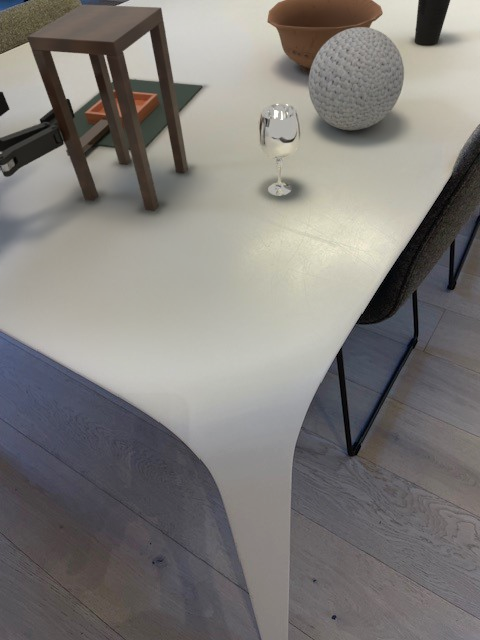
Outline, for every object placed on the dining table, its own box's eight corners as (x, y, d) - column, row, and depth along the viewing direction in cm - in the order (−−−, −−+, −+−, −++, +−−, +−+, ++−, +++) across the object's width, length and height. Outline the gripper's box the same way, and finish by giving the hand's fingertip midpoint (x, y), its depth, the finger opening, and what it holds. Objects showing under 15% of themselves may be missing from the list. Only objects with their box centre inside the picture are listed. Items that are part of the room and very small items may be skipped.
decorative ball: (410, 138, 81) (430, 39, 70) (322, 153, 80) (328, 54, 69) (375, 100, 91) (387, 8, 80) (297, 113, 90) (298, 21, 79)
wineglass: (289, 176, 76) (289, 98, 67) (305, 195, 72) (308, 115, 63) (254, 185, 75) (250, 107, 66) (269, 205, 71) (267, 126, 62)
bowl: (256, 87, 98) (253, 26, 90) (282, 46, 112) (282, -10, 104) (368, 94, 93) (375, 29, 85) (381, 49, 107) (389, -9, 98)
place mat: (46, 140, 90) (45, 136, 89) (117, 80, 106) (117, 77, 105) (142, 153, 84) (142, 149, 84) (202, 88, 100) (202, 85, 99)
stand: (85, 200, 75) (26, 36, 58) (123, 160, 83) (81, 4, 66) (154, 212, 72) (113, 42, 55) (188, 169, 79) (161, 7, 62)
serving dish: (50, 155, 84) (45, 145, 83) (115, 99, 98) (112, 89, 96) (99, 163, 82) (96, 152, 80) (159, 104, 95) (157, 93, 94)
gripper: (-1, 169, 55) (97, 85, 68) (-157, 145, 61) (-39, 72, 74) (25, 223, 61) (111, 136, 74) (-120, 196, 66) (-16, 120, 80)
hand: (36, 104), depth 74 cm, fingers open, 11 cm apart
